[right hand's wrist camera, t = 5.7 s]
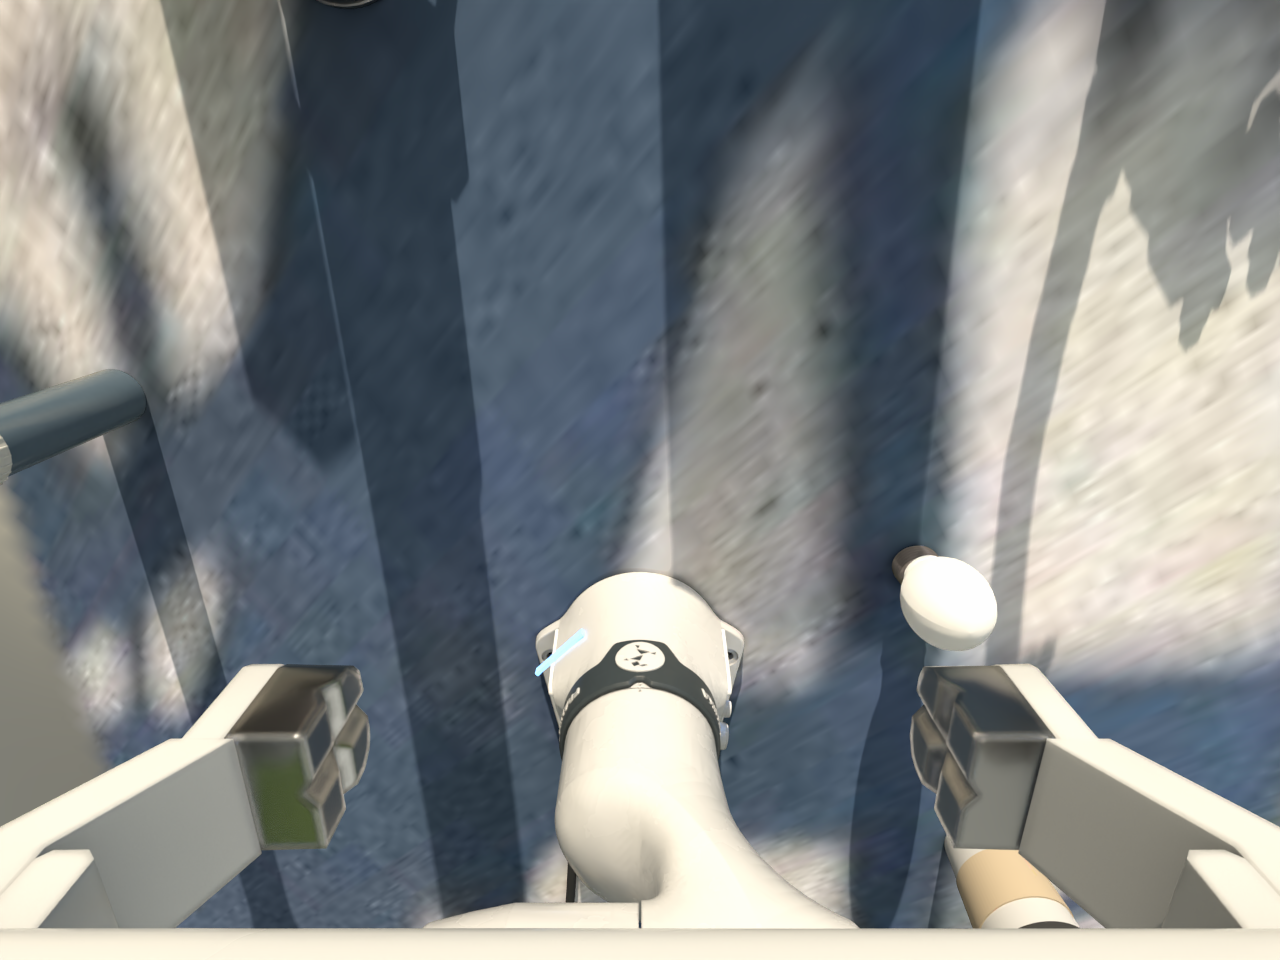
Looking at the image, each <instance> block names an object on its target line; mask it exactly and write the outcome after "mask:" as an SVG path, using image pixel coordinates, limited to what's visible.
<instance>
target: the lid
mask: <svg viewBox="0 0 1280 960" xmlns="http://www.w3.org/2000/svg"><path fill="white" fill-rule="evenodd" d="M11 456H12V455H11V454H10V450H9V448H8V446H7V444H6V442H5V441H4V439H3V437H1V435H0V486H1V485H3V482H4V481H5V480H8V478H7V477H8V476H9V474H10V473H11V472H12V471H11V467H12V465H13V463H12V458H11Z"/></svg>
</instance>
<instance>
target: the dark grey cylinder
mask: <svg viewBox="0 0 1280 960" xmlns="http://www.w3.org/2000/svg"><path fill="white" fill-rule="evenodd" d="M145 407H146V398H145V394H144V391H143V389H142V388H141V386H140V385H139V383H138V382H137V381H136V380H135V379H134V378H133V377H131V376H130V375H128V374H127V373H125V372H122V371H119V370H115V369H106V370H102V371H99V372H95V373H92V374H89V375H86V376H83V377H80V378H77V379H74V380H70V381H67V382H64V383H61V384H58V385H55V386H52V387H49V388H45V389H42V390H39V391H36V392H33V393H30V394H27V395H24V396H20V397H17V398H14V399H11V400H8V401H5V402H2V403H0V435H1V437H3V439H4V441H5V442H6V444H7V446H8V448H9V450H10V454H11V455H12V456H11V458H12V463H13V465H12V467H11V471H12V472H11V473H10V474H9V476H11V475H13V474H15V473H18V472H20V471H22V470H24V469H27V468H29V467H31V466H34V465H36V464H38V463H40V462H43V461H45V460H47V459H49V458H52V457H54V456H56V455H58V454H61V453H63V452H65V451H68V450H70V449H72V448H74V447H77V446H79V445H81V444H83V443H86V442H88V441H90V440H93V439H95V438H97V437H99V436H102V435H104V434H106V433H108V432H111V431H113V430H115V429H117V428H120V427H122V426H124V425H127V424H129V423H131V422H133V421H136V420H137V419H139V418H140V417H141V416H142V414H143V413H144V411H145ZM9 476H8V477H9Z"/></svg>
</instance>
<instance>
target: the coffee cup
mask: <svg viewBox="0 0 1280 960" xmlns="http://www.w3.org/2000/svg"><path fill="white" fill-rule="evenodd" d="M944 846H945V850H946V853H947V856H948V858H949V861H950V864H951V866H952V869H953V872H954V874H955V877H956V882H957V887H958V890H959V892H960V895H961V898H962V900H963V903H964V906H965V908H966V911H967V914H968V916H969V919H970V922H971V924H972V927H973V929H1079V928H1080V927H1079V925H1078V924H1077V922H1076V921H1075V920H1074V917H1073V914H1072V912H1071V911H1070V910H1069V908H1068V907H1067V905H1066V904H1065V902H1064V901H1063V899H1062V898H1061V897H1060V895H1059V894H1058V892H1057V891H1056V889H1055V888H1054V887H1053V885H1052V884H1051V882H1050V881H1049V879H1048V878H1046V877H1045V876H1044V875H1043V874H1042V873H1041V872H1039V871H1038V870H1037V869H1036V868H1035V867H1034V866H1032V865H1031V864H1030V863H1029V862H1028V861H1027V860H1025V859H1024V858H1023V857H1022V856H1021V855H1020V854H1018V852H1019V850H994V849H958V848H953V846H952V844H951V842H950V840H949V838H948V836H946V838H945V843H944ZM1080 929H1081V928H1080Z"/></svg>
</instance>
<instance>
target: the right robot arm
mask: <svg viewBox="0 0 1280 960" xmlns="http://www.w3.org/2000/svg"><path fill="white" fill-rule="evenodd" d="M536 650H537V654H538V657H539V661H540V664H541V665H540V666H539V667H537V668H536V672H535V674H536V675H537V676H539V675H540V674H541V673H542V672H543V674H544V678H545V681H546V685H547V688H548V692H549V695H550V698H551V702H552V705H553V709H554V712H555V715H556V719H557V722H558V726H559V734H560V739H559V748H560V754H561V759H562V767H561V774H560V781H559V789H558V796H557V804H556V811H555V829H556V835H557V839H558V842H559V845H560V848H561V850H562V852H563V854H564V856H565V858H566V859H567V861H568V873H567V892H566V903H512V904H507V905H502V906H497V907H492V908H487V909H482V910H477V911H472V912H469V913H465V914H461V915H457V916H453V917H449V918H445V919H441V920H437V921H433V922H430V923H428V924H427V925H425V926H424V927H423V928H334V929H248V928H176V927H177V926H178V925H179V924H180V923H181V922H183V921H184V920H185V919H186V918H187V917H188V916H190V915H191V914H192V913H193V912H194V911H195V910H197V909H198V908H199V907H200V906H201V905H202V904H204V903H205V902H206V901H207V900H208V899H209V898H211V897H212V896H213V895H214V894H215V893H216V892H218V891H219V890H220V889H221V888H222V887H223V886H225V885H226V884H227V883H228V882H229V881H230V880H232V879H233V878H234V877H235V876H236V875H237V874H239V873H240V872H241V871H242V870H243V869H244V868H246V867H247V866H248V865H249V864H250V863H251V862H253V861H254V860H255V859H256V858H257V857H258V856H260V855H261V853H262V852H261V850H285V849H320V848H327V846H328V844H329V842H330V840H331V838H332V836H333V834H334V832H335V830H336V828H337V826H338V824H339V822H340V820H341V817H342V815H343V813H344V811H345V809H346V807H345V801H344V796H343V794H344V793H346V792H347V791H348V790H350V789H351V788H353V787H354V786H355V785H357V784H358V782H359V780H360V778H361V776H362V773H363V771H364V769H365V766H366V761H367V757H368V752H369V747H370V728H369V722H368V716H367V715H366V714H365V713H364V712H363V711H362V710H361V709H360V708H359V707H358V706H357V705H356V703H357V701H358V699H359V698H360V696H361V694H362V692H363V686H362V681H361V676H360V671H359V670H358V669H357V668H355V667H354V666H346V665H299V664H286V665H283V664H251V665H248V666H246V667H243V668H242V669H241V670H240V671H239V672H238V674H237V675H236V676H235V677H234V678H233V679H232V681H231V682H230V683H229V684H228V685H227V686H226V688H225V689H224V690H223V691H222V692H221V693H220V695H219V696H218V697H217V698H216V699H215V700H214V702H213V703H212V704H211V705H210V706H209V707H208V709H207V710H206V711H205V712H204V713H203V714H202V716H201V717H200V718H199V719H198V720H197V721H196V723H195V724H194V725H193V726H192V727H191V728H190V730H189V731H188V732H187V733H186V734H185V735H184V737H183V738H182V739H169V740H167V741H165V742H163V743H161V744H159V745H158V746H156V747H154V748H152V749H150V750H148V751H146V752H144V753H142V754H140V755H138V756H136V757H134V758H132V759H130V760H129V761H127V762H125V763H123V764H121V765H119V766H117V767H115V768H113V769H111V770H109V771H107V772H105V773H103V774H102V775H100V776H98V777H96V778H94V779H92V780H90V781H88V782H86V783H84V784H82V785H80V786H78V787H76V788H75V789H73V790H71V791H69V792H67V793H65V794H63V795H61V796H59V797H57V798H55V799H53V800H51V801H49V802H47V803H46V804H44V805H42V806H40V807H38V808H36V809H34V810H32V811H30V812H28V813H26V814H24V815H22V816H20V817H18V818H17V819H15V820H13V821H11V822H9V823H7V824H5V825H3V826H1V827H0V960H1280V827H1278V826H1276V825H1275V824H1273V823H1271V822H1269V821H1267V820H1265V819H1263V818H1261V817H1259V816H1257V815H1255V814H1253V813H1251V812H1250V811H1248V810H1246V809H1244V808H1242V807H1240V806H1238V805H1236V804H1234V803H1232V802H1230V801H1228V800H1226V799H1225V798H1223V797H1221V796H1219V795H1217V794H1215V793H1213V792H1211V791H1209V790H1207V789H1205V788H1203V787H1201V786H1199V785H1198V784H1196V783H1194V782H1192V781H1190V780H1188V779H1186V778H1184V777H1182V776H1180V775H1178V774H1176V773H1174V772H1173V771H1171V770H1169V769H1167V768H1165V767H1163V766H1161V765H1159V764H1157V763H1155V762H1153V761H1151V760H1149V759H1147V758H1146V757H1144V756H1142V755H1140V754H1138V753H1136V752H1134V751H1132V750H1130V749H1128V748H1126V747H1124V746H1122V745H1121V744H1119V743H1117V742H1115V741H1113V740H1111V739H1098V738H1097V737H1096V735H1095V734H1094V733H1093V732H1092V731H1091V730H1090V728H1089V727H1088V726H1087V725H1086V724H1085V723H1084V721H1083V720H1082V719H1081V718H1080V717H1079V716H1078V715H1077V713H1076V712H1075V711H1074V710H1073V709H1072V708H1071V706H1070V705H1069V704H1068V703H1067V702H1066V701H1065V699H1064V698H1063V697H1062V696H1061V695H1060V694H1059V692H1058V691H1057V690H1056V689H1055V688H1054V687H1053V685H1052V684H1051V683H1050V682H1049V681H1048V680H1047V678H1046V677H1045V676H1044V675H1043V674H1042V673H1041V671H1040V670H1039V669H1038V668H1037V667H1035V666H1033V665H1031V664H1002V665H993V666H924V667H923V669H922V671H921V673H920V675H919V680H918V685H917V692H918V694H919V696H920V698H921V699H922V701H923V703H924V705H923V706H922V707H921V708H920V709H919V710H918V711H917V712H916V713H915V714H914V715H913V716H912V723H911V731H910V743H911V754H912V758H913V762H914V765H915V769H916V771H917V774H918V776H919V778H920V780H921V782H922V784H923V785H925V786H926V787H927V788H929V789H930V790H932V791H933V792H934V793H936V794H937V796H936V801H935V807H934V809H935V811H936V813H937V815H938V817H939V819H940V822H941V824H942V826H943V828H944V830H945V832H946V834H947V836H948V838H949V840H950V842H951V844H952V846H953V848H958V849H994V850H1019V852H1018V854H1020V855H1021V856H1022V857H1023V858H1024V859H1025V860H1027V861H1028V862H1029V863H1030V864H1031V865H1032V866H1034V867H1035V868H1036V869H1037V870H1038V871H1039V872H1041V873H1042V874H1043V875H1044V876H1045V877H1046V878H1048V879H1049V880H1050V881H1051V882H1052V883H1053V884H1055V885H1056V886H1057V887H1058V888H1059V889H1060V890H1062V891H1063V892H1064V893H1065V894H1066V895H1067V896H1069V897H1070V898H1071V899H1072V900H1073V901H1074V902H1076V903H1077V904H1078V905H1079V906H1080V907H1081V908H1083V909H1084V910H1085V911H1086V912H1087V913H1088V914H1090V915H1091V916H1092V917H1093V918H1094V919H1095V920H1096V921H1098V922H1099V923H1100V924H1101V925H1102V926H1103V927H1105V928H1081V929H1080V928H1079V929H860V928H859V927H858V926H857V925H856V924H855V923H854V922H852V921H851V920H849V919H847V918H845V917H843V916H841V915H839V914H837V913H835V912H833V911H831V910H829V909H827V908H825V907H824V906H822V905H820V904H819V903H817V902H815V901H814V900H812V899H810V898H809V897H807V896H806V895H804V894H803V893H802V892H800V891H799V890H797V889H796V888H795V887H793V886H792V885H791V884H789V883H788V882H787V881H786V880H785V879H784V878H782V877H781V876H780V875H779V874H778V873H776V872H775V871H774V870H773V869H772V868H771V867H770V866H769V865H768V864H767V863H766V862H765V861H764V860H763V859H762V858H761V857H760V855H759V854H758V853H757V852H756V851H755V850H754V849H753V848H752V846H751V845H750V844H749V843H748V841H747V840H746V839H745V838H744V836H743V835H742V833H741V832H740V830H739V829H738V827H737V826H736V824H735V822H734V820H733V818H732V816H731V813H730V811H729V808H728V804H727V800H726V797H725V793H724V789H723V785H722V780H721V775H720V770H719V765H718V759H719V755H720V750H724V749H726V747H727V743H728V735H729V729H728V724H726V723H724V722H723V719H724V717H725V718H726V717H727V718H729V717H730V716H731V710H732V703H731V701H729V698H730V695H731V693H732V688H733V685H734V681H735V678H736V675H737V671H738V668H739V664H740V661H741V657H742V654H743V651H744V637H743V635H742V634H741V633H740V631H738V630H737V629H736V628H734V627H733V626H731V625H729V624H728V623H726V622H724V621H722V620H720V619H719V618H718V617H717V616H716V615H715V613H714V612H713V611H712V609H711V608H710V606H709V605H708V604H707V602H706V601H705V600H704V599H703V598H702V597H701V596H700V595H699V594H698V593H697V592H696V591H695V590H693V589H692V588H691V587H689V586H688V585H686V584H684V583H683V582H681V581H679V580H676V579H674V578H671V577H669V576H665V575H661V574H657V573H649V572H631V573H624V574H619V575H615V576H612V577H609V578H606V579H604V580H601V581H599V582H597V583H596V584H594V585H592V586H591V587H589V588H588V589H587V590H585V591H584V592H583V593H582V594H581V595H580V596H579V597H578V598H577V599H576V600H575V601H574V602H573V604H572V605H571V607H570V608H569V609H568V611H567V612H566V613H565V615H564V616H563V617H562V618H561V619H560V620H558V621H556V622H554V623H553V624H551V625H549V626H547V627H546V628H544V629H543V630H542V631H541V632H540V633H539V634H538V635H537V637H536ZM550 652H552V655H549V654H548V653H550ZM728 652H730V653H732V654H731V655H729V656H728ZM576 875H577V876H578V877H579V878H580V880H581V881H582V882H583V883H584V884H585V885H586V886H587V887H588V888H589V889H590V890H591V891H593V892H594V893H595V894H597V895H598V896H600V897H601V898H603V899H604V900H606V901H608V902H609V903H574V899H575V884H576ZM639 922H641V928H639Z"/></svg>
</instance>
